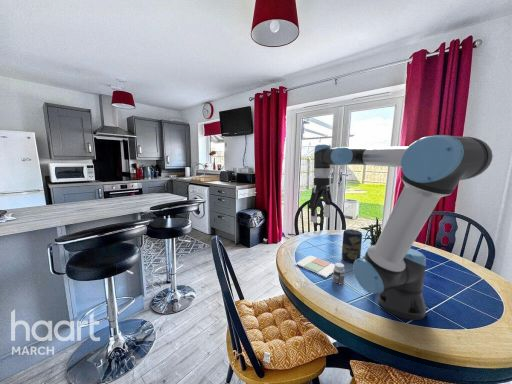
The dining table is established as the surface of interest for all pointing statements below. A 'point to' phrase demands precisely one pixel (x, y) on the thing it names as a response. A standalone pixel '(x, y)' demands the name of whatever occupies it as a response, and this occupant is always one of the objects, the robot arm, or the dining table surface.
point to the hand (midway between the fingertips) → (320, 219)
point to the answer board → (317, 265)
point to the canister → (351, 245)
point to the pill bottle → (338, 273)
